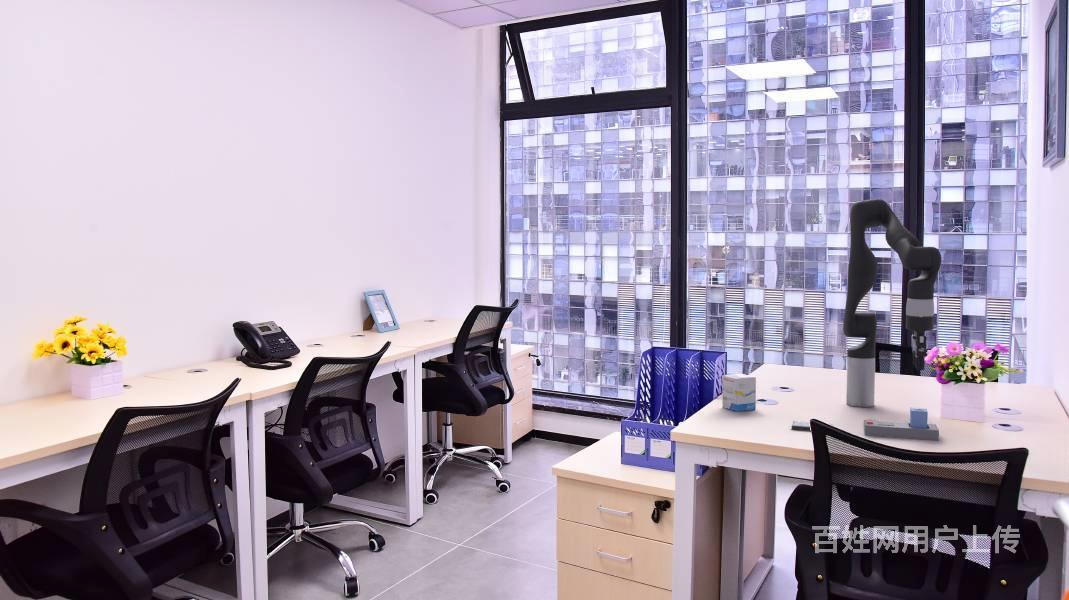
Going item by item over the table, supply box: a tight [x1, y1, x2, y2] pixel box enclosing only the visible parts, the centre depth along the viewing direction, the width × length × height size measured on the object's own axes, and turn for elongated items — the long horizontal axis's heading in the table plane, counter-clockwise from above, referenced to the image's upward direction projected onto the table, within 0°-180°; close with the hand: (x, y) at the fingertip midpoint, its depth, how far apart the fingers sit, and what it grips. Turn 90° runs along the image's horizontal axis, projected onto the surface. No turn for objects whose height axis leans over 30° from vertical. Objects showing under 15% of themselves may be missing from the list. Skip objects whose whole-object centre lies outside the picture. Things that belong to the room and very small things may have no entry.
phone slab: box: [791, 420, 834, 432], centre depth 245 cm, size 7×12×1 cm, turn 69°
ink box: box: [721, 373, 757, 412], centre depth 275 cm, size 9×8×12 cm
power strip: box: [863, 419, 940, 441], centre depth 236 cm, size 8×20×4 cm, turn 69°
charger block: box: [909, 407, 929, 429], centre depth 234 cm, size 4×4×8 cm
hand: (918, 367), depth 234 cm, fingers open, 8 cm apart
